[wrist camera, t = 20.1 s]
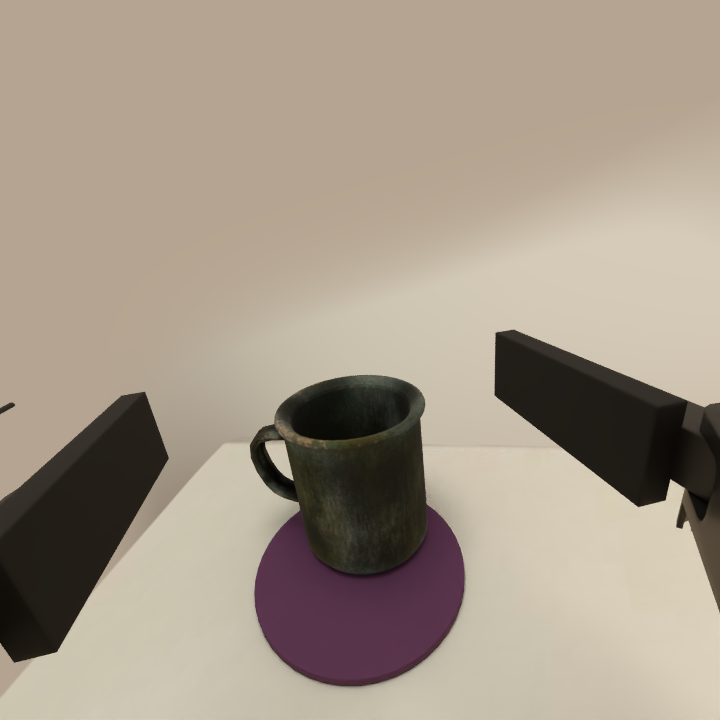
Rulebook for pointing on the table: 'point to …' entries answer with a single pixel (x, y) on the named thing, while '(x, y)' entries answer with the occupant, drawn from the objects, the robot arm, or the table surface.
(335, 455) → the mug
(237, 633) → the table surface
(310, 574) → the place mat
